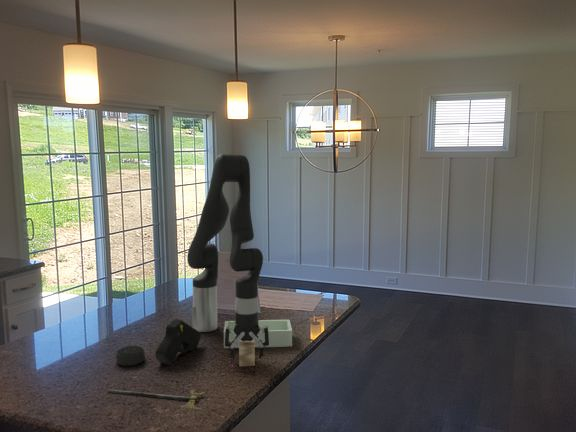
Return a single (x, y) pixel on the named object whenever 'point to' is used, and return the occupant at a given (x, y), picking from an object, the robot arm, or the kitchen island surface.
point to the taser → (177, 341)
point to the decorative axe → (165, 396)
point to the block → (246, 353)
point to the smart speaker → (130, 355)
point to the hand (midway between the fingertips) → (247, 357)
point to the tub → (276, 331)
